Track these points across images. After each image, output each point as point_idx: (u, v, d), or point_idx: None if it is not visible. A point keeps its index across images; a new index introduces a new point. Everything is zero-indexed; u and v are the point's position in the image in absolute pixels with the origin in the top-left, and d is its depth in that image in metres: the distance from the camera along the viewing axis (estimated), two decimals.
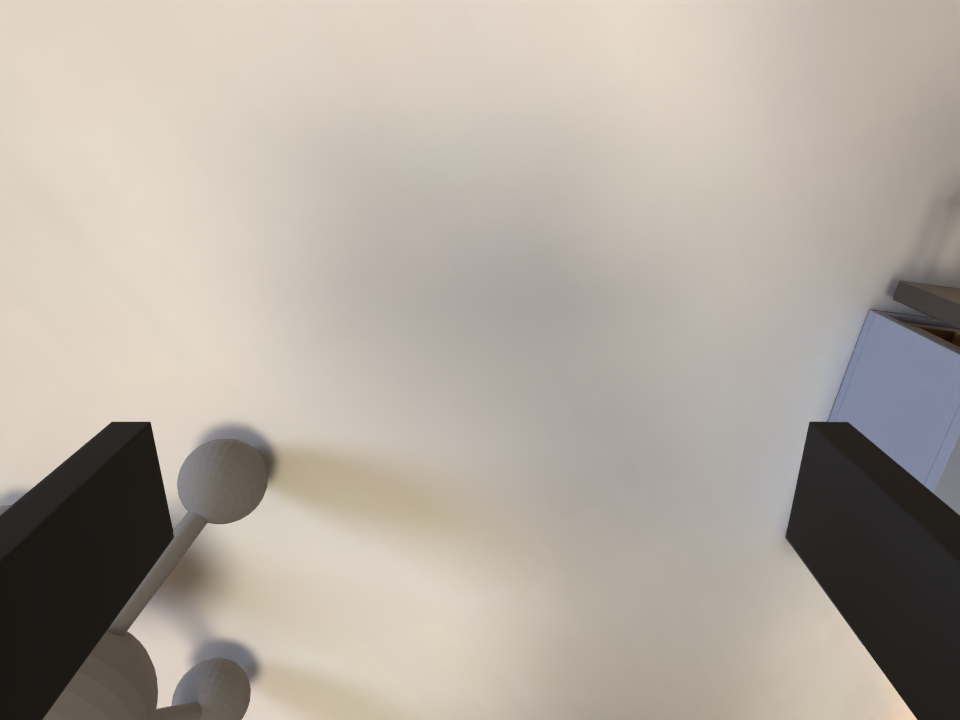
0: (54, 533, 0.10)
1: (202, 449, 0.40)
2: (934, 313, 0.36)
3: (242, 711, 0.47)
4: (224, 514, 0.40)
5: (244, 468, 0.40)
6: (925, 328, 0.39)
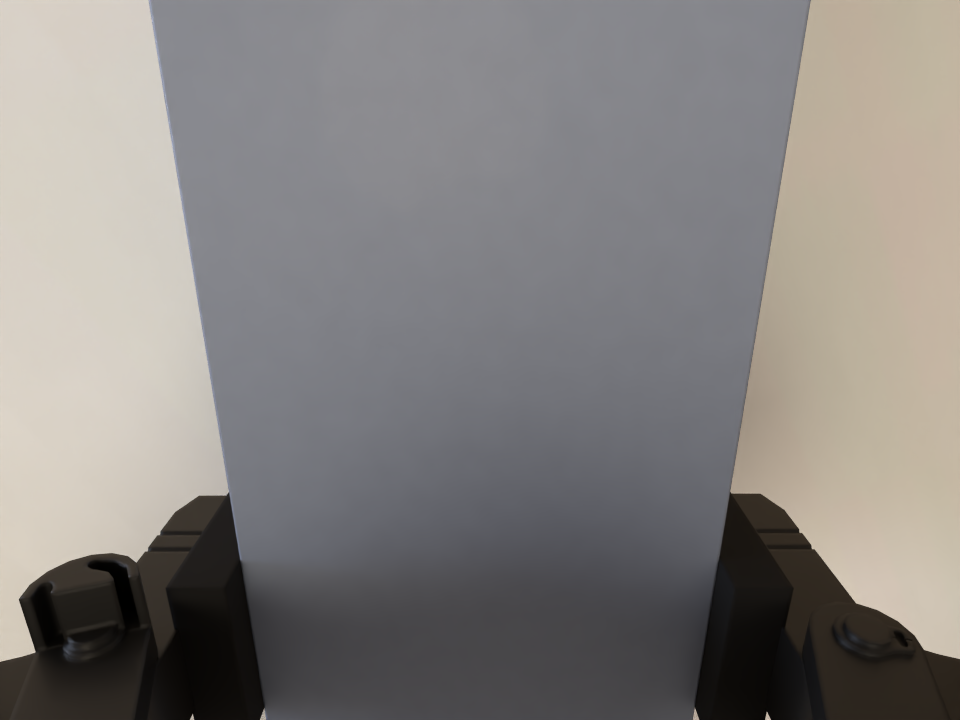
0: None
1: None
2: None
3: None
4: None
5: None
6: None
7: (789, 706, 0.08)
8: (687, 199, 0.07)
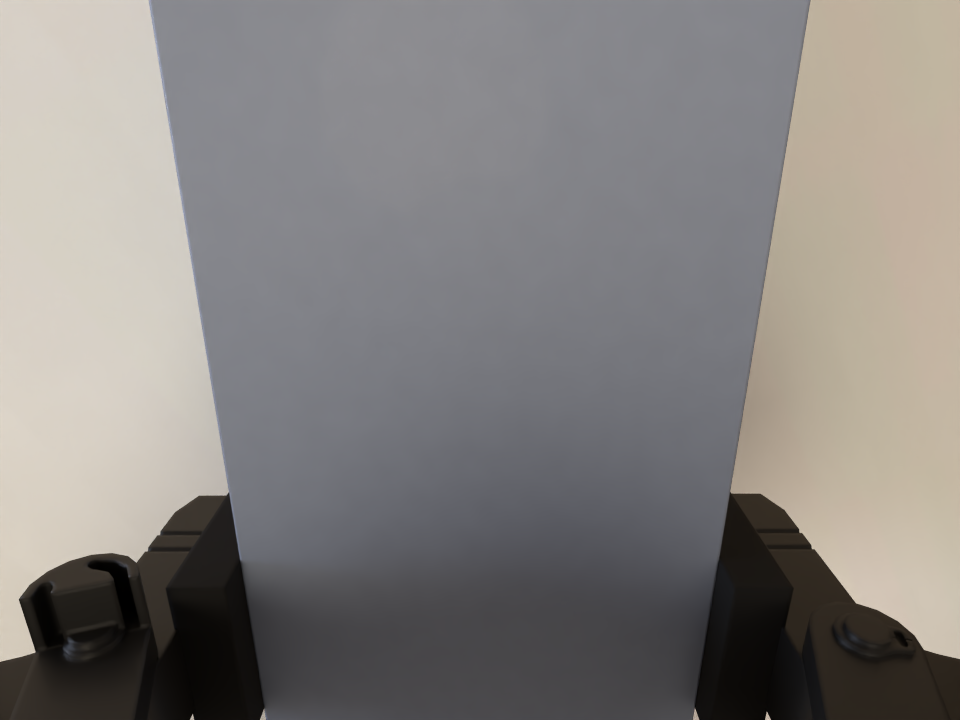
0: None
1: None
2: None
3: None
4: None
5: None
6: None
7: (789, 706, 0.08)
8: (687, 199, 0.07)
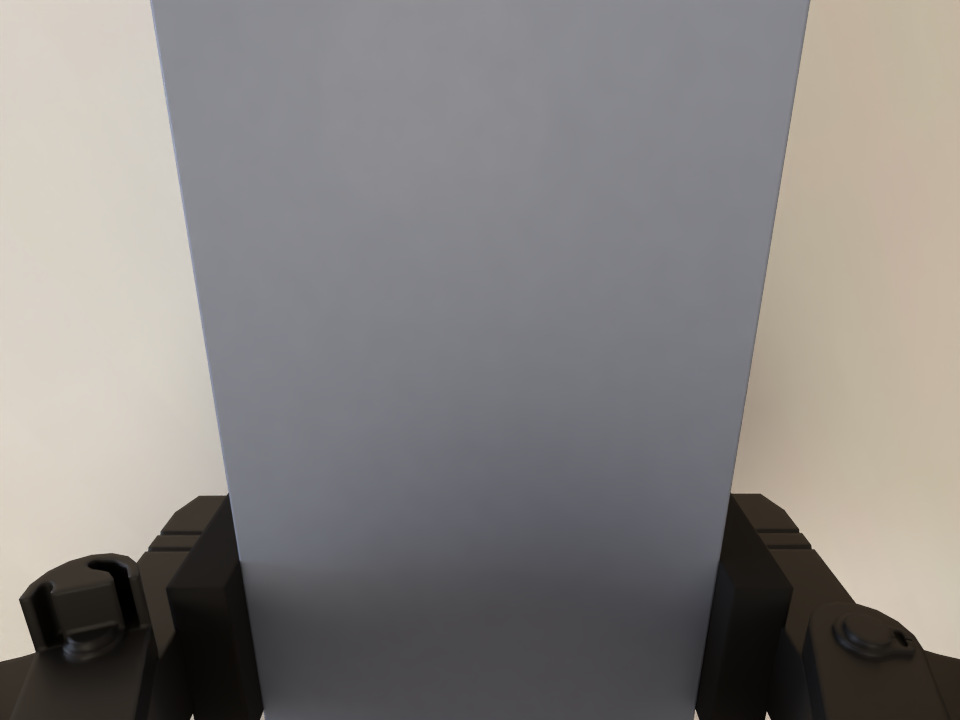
0: None
1: None
2: None
3: None
4: None
5: None
6: None
7: (789, 706, 0.08)
8: (687, 197, 0.07)
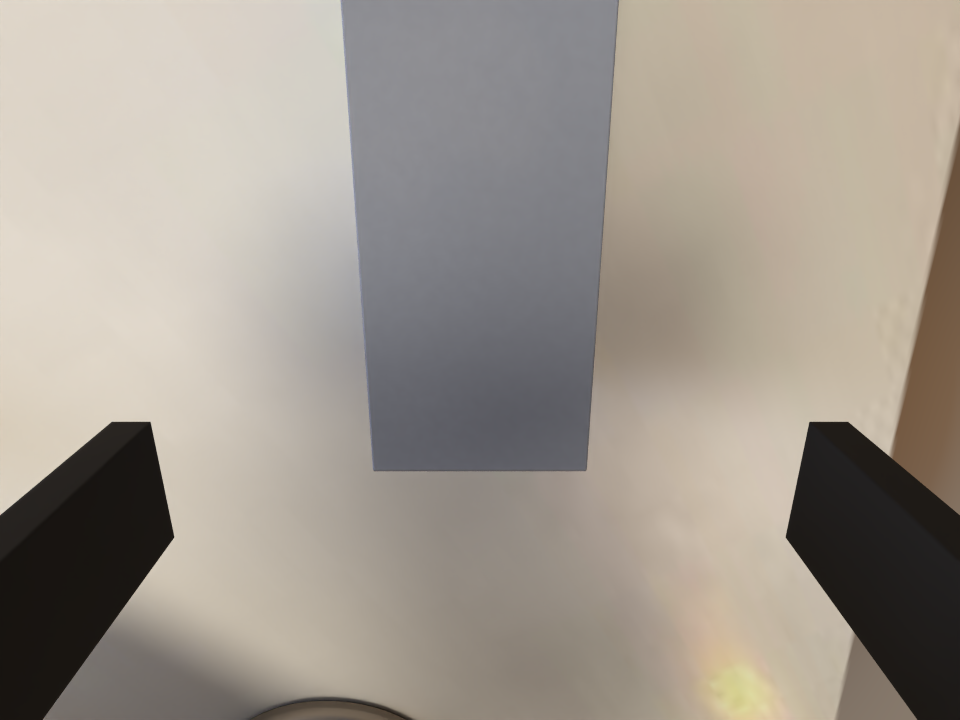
0: (54, 533, 0.10)
1: None
2: None
3: None
4: None
5: None
6: None
7: None
8: (570, 125, 0.16)
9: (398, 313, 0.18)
